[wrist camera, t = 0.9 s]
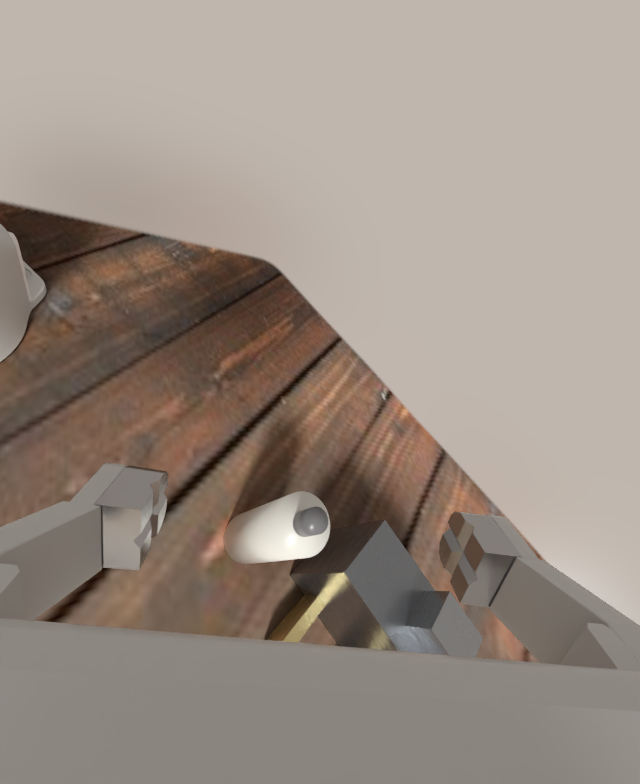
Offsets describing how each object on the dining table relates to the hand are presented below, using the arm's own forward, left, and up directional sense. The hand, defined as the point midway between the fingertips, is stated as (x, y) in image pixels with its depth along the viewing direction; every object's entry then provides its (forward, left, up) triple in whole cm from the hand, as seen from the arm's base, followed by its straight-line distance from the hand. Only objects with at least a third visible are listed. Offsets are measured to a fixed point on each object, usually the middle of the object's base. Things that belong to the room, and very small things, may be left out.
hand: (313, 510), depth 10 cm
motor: (+19, +11, -29) cm, 36 cm away
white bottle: (+5, +8, -29) cm, 31 cm away
